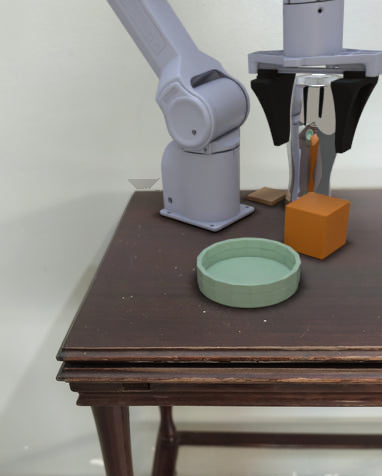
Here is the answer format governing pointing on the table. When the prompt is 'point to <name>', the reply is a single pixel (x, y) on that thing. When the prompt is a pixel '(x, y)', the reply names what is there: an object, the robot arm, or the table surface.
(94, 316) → the table surface
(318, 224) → the orange cube
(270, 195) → the cork coaster
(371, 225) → the table surface
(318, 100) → the beer glass
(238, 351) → the table surface
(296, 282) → the celadon bowl
